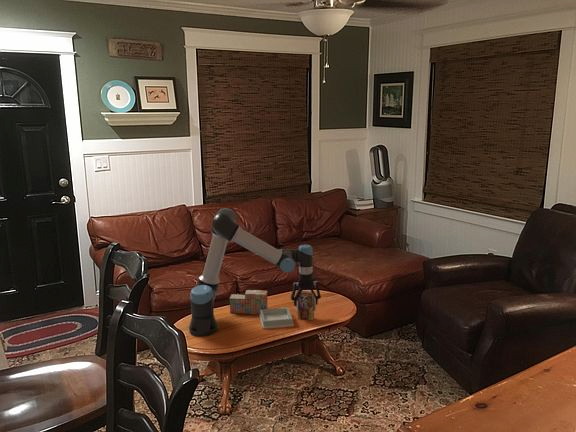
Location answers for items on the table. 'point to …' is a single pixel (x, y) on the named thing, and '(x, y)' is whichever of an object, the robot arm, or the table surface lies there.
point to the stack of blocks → (249, 302)
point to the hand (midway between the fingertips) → (305, 310)
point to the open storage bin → (275, 318)
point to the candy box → (306, 306)
